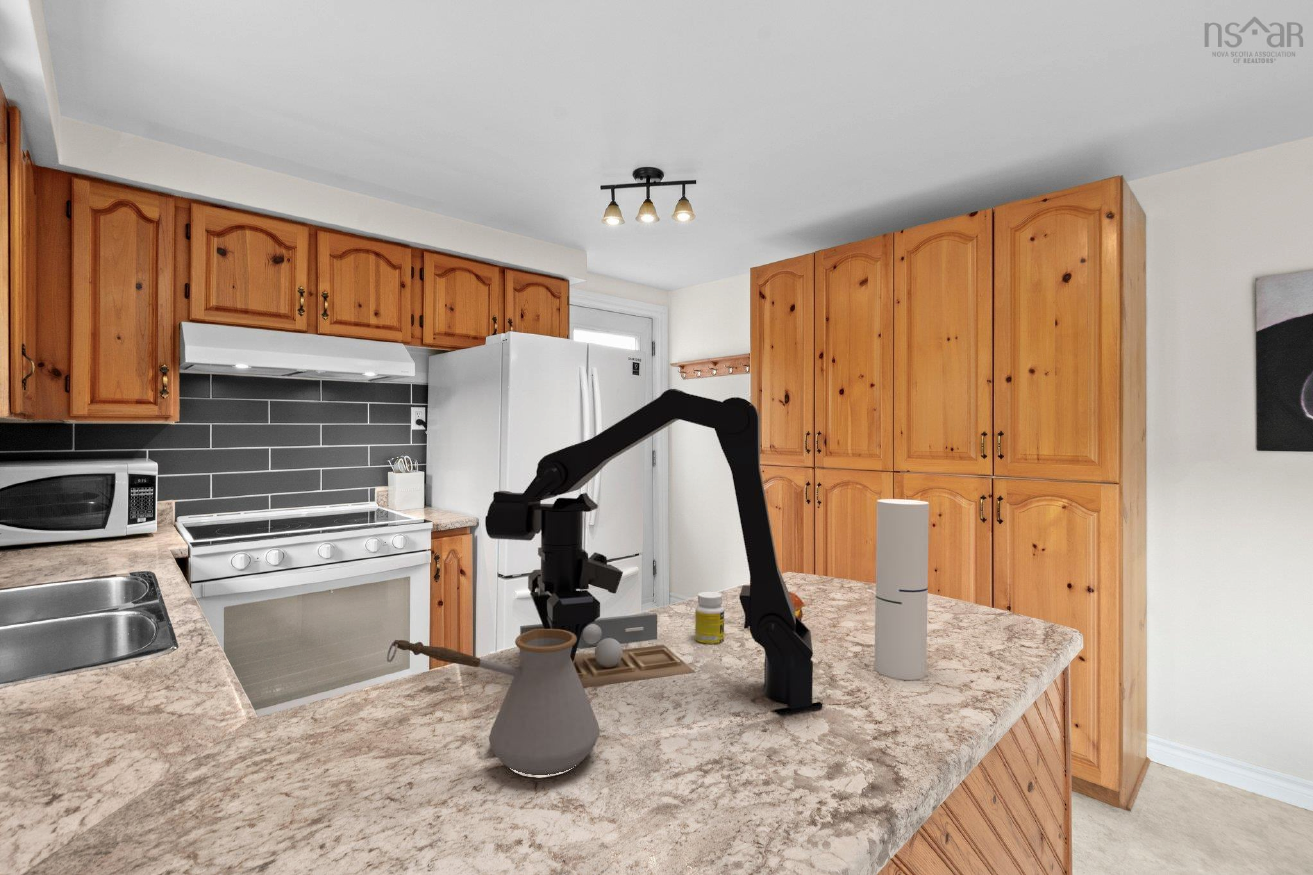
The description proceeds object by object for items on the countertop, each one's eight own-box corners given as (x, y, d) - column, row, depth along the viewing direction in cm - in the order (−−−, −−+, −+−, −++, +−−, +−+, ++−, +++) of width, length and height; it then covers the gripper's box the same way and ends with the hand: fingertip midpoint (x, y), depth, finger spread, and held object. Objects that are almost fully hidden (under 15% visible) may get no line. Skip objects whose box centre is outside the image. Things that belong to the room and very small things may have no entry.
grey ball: (626, 669, 89) (626, 641, 89) (598, 673, 87) (599, 644, 87) (617, 660, 93) (617, 633, 93) (591, 663, 91) (591, 636, 91)
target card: (657, 645, 102) (658, 614, 102) (521, 661, 94) (521, 628, 94) (654, 643, 103) (655, 612, 103) (519, 658, 95) (520, 626, 95)
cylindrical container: (931, 682, 89) (934, 505, 88) (878, 677, 90) (880, 503, 90) (920, 663, 96) (923, 500, 95) (871, 659, 97) (873, 498, 97)
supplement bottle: (725, 651, 100) (725, 598, 100) (695, 650, 100) (696, 597, 100) (722, 641, 105) (723, 590, 105) (694, 640, 105) (695, 590, 105)
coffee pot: (573, 724, 74) (575, 598, 74) (617, 770, 64) (619, 624, 64) (378, 771, 63) (379, 624, 63) (394, 835, 54) (396, 660, 53)
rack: (695, 679, 88) (695, 667, 88) (539, 701, 80) (539, 688, 80) (663, 651, 100) (664, 641, 100) (524, 668, 92) (524, 657, 92)
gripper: (638, 551, 82) (637, 670, 82) (599, 529, 99) (597, 628, 99) (554, 556, 78) (552, 682, 78) (528, 532, 95) (526, 635, 95)
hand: (560, 653), depth 87 cm, fingers open, 9 cm apart
